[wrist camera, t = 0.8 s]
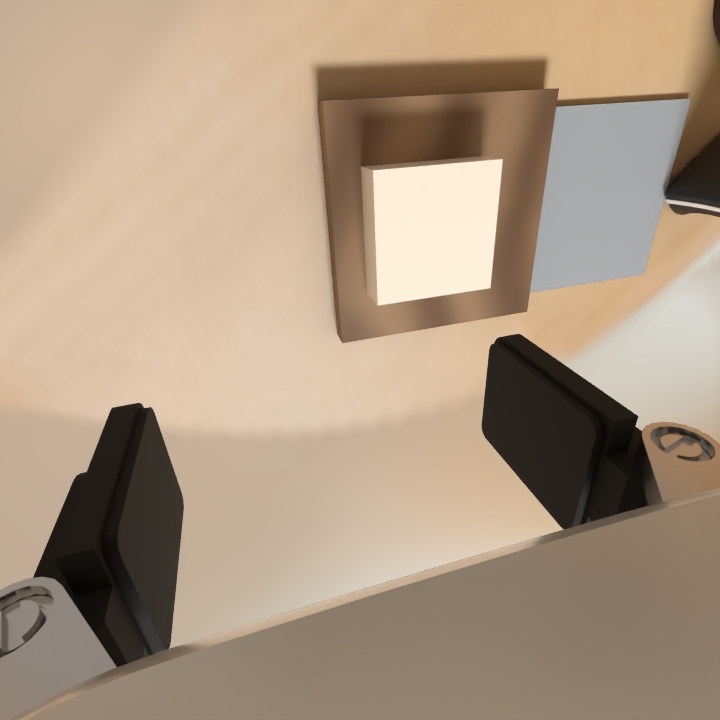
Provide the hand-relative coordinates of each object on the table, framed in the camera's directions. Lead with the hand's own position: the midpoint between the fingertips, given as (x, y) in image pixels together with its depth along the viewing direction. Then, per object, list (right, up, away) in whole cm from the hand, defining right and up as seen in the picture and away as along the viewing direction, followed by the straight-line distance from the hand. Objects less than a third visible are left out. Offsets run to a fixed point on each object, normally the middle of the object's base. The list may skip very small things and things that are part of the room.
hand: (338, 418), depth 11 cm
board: (+6, +11, +20) cm, 23 cm away
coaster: (+5, +10, +18) cm, 21 cm away
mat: (+19, +14, +23) cm, 32 cm away
